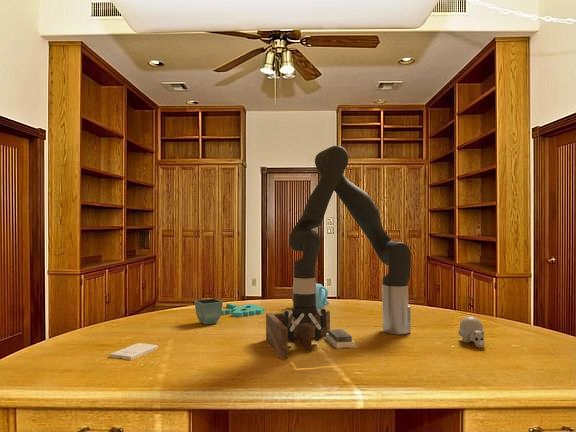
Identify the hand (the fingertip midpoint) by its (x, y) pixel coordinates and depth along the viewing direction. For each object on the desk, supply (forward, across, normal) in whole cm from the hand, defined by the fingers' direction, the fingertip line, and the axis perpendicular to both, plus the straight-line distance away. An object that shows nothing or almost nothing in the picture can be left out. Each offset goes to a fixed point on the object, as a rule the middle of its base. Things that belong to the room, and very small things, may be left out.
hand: (304, 341), depth 138 cm
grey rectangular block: (0, -12, 0) cm, 12 cm away
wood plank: (+2, 0, 0) cm, 2 cm away
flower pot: (+2, +28, -41) cm, 50 cm away
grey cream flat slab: (+3, -12, 0) cm, 12 cm away
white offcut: (+1, -12, 0) cm, 12 cm away
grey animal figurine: (+2, -55, +11) cm, 56 cm away
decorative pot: (+2, -20, -58) cm, 61 cm away
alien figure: (+2, +12, -60) cm, 61 cm away
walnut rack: (+2, 0, 0) cm, 2 cm away
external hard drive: (+2, +53, -7) cm, 53 cm away
